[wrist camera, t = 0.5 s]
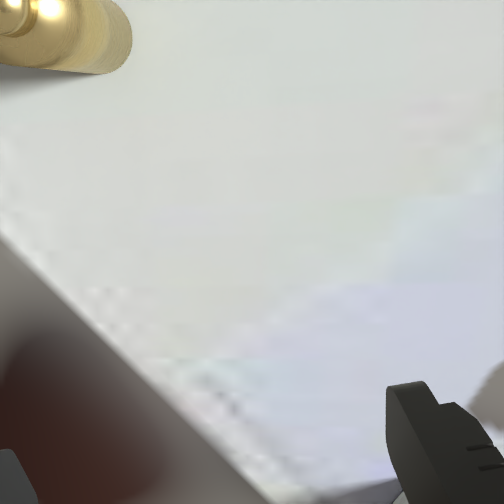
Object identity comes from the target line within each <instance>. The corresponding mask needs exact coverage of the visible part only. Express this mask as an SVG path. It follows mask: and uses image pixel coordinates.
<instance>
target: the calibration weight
mask: <svg viewBox="0 0 504 504" xmlns="http://www.w3.org/2000/svg"><path fill="white" fill-rule="evenodd" d="M131 47H132V30H131V26H130V23H129V21H128V18H127V17H126V15H125V13H124V12H123V10H122V9H121V8H120V7H119V6H118V5H117V4H116V3H114V2H113V1H111V0H0V63H2V64H6V65H11V66H21V67H31V68H42V69H52V70H62V71H72V72H82V73H92V74H106V73H110V72H113V71H115V70H116V69H118V68H119V67H121V66H122V65H123V64H124V62H125V61H126V60H127V58H128V56H129V54H130V51H131Z"/></svg>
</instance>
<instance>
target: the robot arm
mask: <svg viewBox="0 0 504 504" xmlns="http://www.w3.org/2000/svg"><path fill="white" fill-rule="evenodd" d="M386 443H387V448H388V452H389V456H390V459H391V462H392V465H393V468H394V470H395V472H396V475H397V477H398V479H399V482H400V484H401V486H402V489H403V491H404V493H405V496H406V498H407V500H408V503H409V504H504V458H503V456H502V455H501V453H500V452H499V451H498V449H497V448H496V447H494V445H493V442H492V440H491V439H490V437H489V436H488V434H487V433H486V432H485V430H484V429H483V427H482V426H481V424H480V423H479V421H478V420H477V419H476V418H475V417H473V416H472V415H471V414H469V413H468V412H467V411H465V410H464V409H463V408H462V407H460V406H459V405H458V404H456V403H455V402H451V403H445V404H440V405H439V404H438V402H437V400H436V399H435V397H434V395H433V394H432V392H431V391H430V389H429V387H428V386H427V384H426V383H425V382H423V381H417V382H411V383H405V384H399V385H393V386H388V387H387V389H386ZM0 504H38V499H37V496H36V493H35V491H34V489H33V487H32V485H31V483H30V482H29V479H28V478H27V476H26V474H25V472H24V470H23V468H22V467H21V464H20V463H19V461H18V459H17V457H16V455H15V453H14V452H13V451H12V450H10V449H4V450H0Z"/></svg>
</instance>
